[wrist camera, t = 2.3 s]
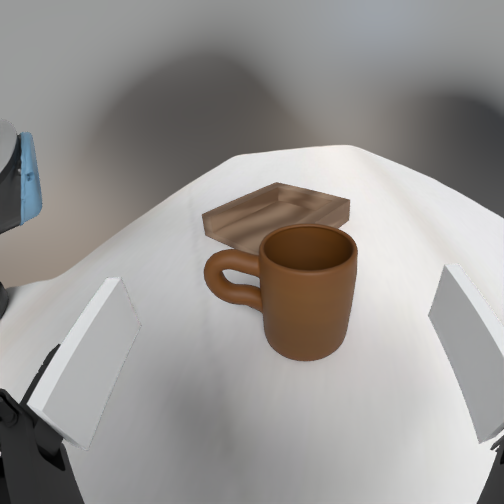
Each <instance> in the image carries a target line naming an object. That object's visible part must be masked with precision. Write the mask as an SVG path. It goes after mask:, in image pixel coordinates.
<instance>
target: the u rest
mask: <svg viewBox="0 0 504 504" xmlns="http://www.w3.org/2000/svg"><path fill="white" fill-rule="evenodd" d="M349 211H350V200H349V199H345V198H341V197H337V196H333V195H329V194H325V193H321V192H317V191H313V190H309V189H304V188H300V187H296V186H291V185H287V184H282V183H277V182H276V183H273V184H271V185H269V186H266V187H264V188H261V189H259V190H257V191H254V192H252V193H250V194H247V195H245V196H242V197H240V198H238V199H236V200H233V201H231V202H229V203H226V204H224V205H222V206H220V207H217V208H215V209H213V210H211V211H208V212H206V213H204V214H202V218H203V224H204V230H205V235H206V236H208V237H210V238H213V239H215V240H217V241H219V242H222V243H224V244H226V245H228V246H230V247H233V248H235V249H237V250H240V251H244V252H248V253H251V254H254V255H259V246H260V244H261V241H262V240H263V238H264V237H265V236H266V235H267V234H269V233H270V232H272V231H274V230H276V229H278V228H281V227H284V226H288V225H293V224H302V223H313V224H322V225H327V226H331V227H334V228H337V229H338V228H339V227H341V226H342V225H343V224H345V223H346V222H347V221H349Z"/></svg>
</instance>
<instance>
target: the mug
mask: <svg viewBox="0 0 504 504" xmlns="http://www.w3.org/2000/svg"><path fill="white" fill-rule="evenodd" d="M357 255H358V250H357V246H356V243H355V241H354V240H353V239H352V238H351V237H350V236H349V235H348V234H347V233H345V232H343V231H342V230H339V229H337V228H334V227H331V226H327V225H322V224H313V223H302V224H293V225H288V226H284V227H281V228H278V229H276V230H274V231H272V232H270V233H269V234H267V235H266V236H265V237H264V238H263V240H262V241H261V244H260V246H259V255H254V254H251V253H248V252H244V251H240V250H237V249H228V250H222V251H219V252H217V253H215V254H213V255H212V256H211V257H210V258H209V259H208V260H207V262H206V264H205V268H204V279H205V282H206V284H207V286H208V287H209V289H210V290H211V291H212V293H214V294H215V295H216V296H217V297H218V298H220V299H221V300H223V301H226V302H228V303H232V304H239V305H247V306H249V307H251V308H254V309H256V310H258V311H260V312H262V314H263V321H264V330H265V335H266V338H267V340H268V342H269V344H270V345H271V347H272V348H273V349H274V350H275V351H277V352H278V353H279V354H281V355H282V356H284V357H287V358H289V359H292V360H297V361H314V360H318V359H322V358H324V357H326V356H328V355H330V354H332V353H333V352H334V351H336V350H337V349H338V348H339V346H340V345H341V344H342V342H343V340H344V338H345V335H346V332H347V327H348V322H349V316H350V312H351V306H352V300H353V294H354V288H355V281H356V274H357ZM226 269H232V270H236V271H239V272H243V273H246V274H250V275H254V276H256V277H259V278H260V288H258V287H256V286H252V285H246V284H234V283H231V282H229V281H228V280H227V279H226V278H225V276H224V274H223V272H222V271H223V270H226Z"/></svg>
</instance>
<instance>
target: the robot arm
mask: <svg viewBox="0 0 504 504" xmlns="http://www.w3.org/2000/svg"><path fill="white" fill-rule="evenodd" d="M41 209H42V195H41V187H40V180H39V173H38V167H37V160H36V154H35V148H34V142H33V138H32V135H31V133H29V132H25V133H24V132H22V133H20V134H19V135H17V133H16V130H15V128H14V126H13V124H12V123H11V122H9V121H7V120H4V119H0V234H2V233H4V232H6V231H8V230H10V229H13V228H15V227H17V226H19V225H20V226H21V225H23V224H24V222H26V221H28V220H29V219H32V218H34V217H35V216H37V215H38V214H39V213H40V211H41ZM7 303H8V294H7V292H6V290H5V289H4V287H3V285H2V283H1V282H0V318H1V316H2V314H3V313H4V311H5V309H6V306H7ZM428 317H429V319H430V321H431V323H432V325H433V327H434V329H435V331H436V333H437V335H438V337H439V339H440V341H441V344H442V346H443V348H444V350H445V352H446V355H447V357H448V359H449V361H450V364H451V366H452V369H453V371H454V373H455V376H456V378H457V381H458V383H459V386H460V388H461V391H462V394H463V396H464V399H465V402H466V404H467V407H468V410H469V413H470V416H471V419H472V422H473V425H474V428H475V431H476V435H477V438H478V441H479V444H480V443H483V442H485V441H487V440H489V439H492V438H494V437H495V436H497V435H498V434H499V433H500V432H501V431H502V430H503V429H504V326H503V325H502V323H501V322H500V320H499V319H498V317H497V316H496V314H495V312H494V311H493V310H492V308H491V307H490V305H489V304H488V302H487V301H486V299H485V298H484V296H483V295H482V294H481V292H480V291H479V290H478V288H477V287H476V285H475V284H474V283H473V281H472V280H471V279H470V277H469V276H468V275H467V274H466V272H465V271H464V270H463V268H462V267H461V266H460V265H459V263H457V264H444V268H443V271H442V275H441V278H440V281H439V285H438V288H437V291H436V294H435V297H434V300H433V303H432V306H431V309H430V312H429V314H428ZM140 327H141V324H140V321H139V319H138V317H137V314H136V312H135V310H134V307H133V305H132V303H131V300H130V298H129V295H128V293H127V290H126V288H125V285H124V283H123V280H122V277H107V278H106V280H105V281H104V282H103V284H102V285H101V286H100V288H99V289H98V291H97V292H96V293H95V295H94V296H93V298H92V299H91V300H90V302H89V303H88V305H87V306H86V308H85V309H84V310H83V312H82V313H81V315H80V316H79V318H78V319H77V321H76V322H75V324H74V325H73V327H72V328H71V330H70V331H69V333H68V334H67V336H66V338H65V339H64V341H63V342H62V344H58V345H57V346H56V347H55V348H54V349H53V350H52V351H51V352H49V354H48V356H47V357H46V359H45V360H44V362H43V365H41V367H40V369H39V370H38V373H37V374H36V376H35V377H34V379H33V381H32V382H31V384H30V386H29V388H28V390H27V391H26V393H25V395H24V397H23V399H22V400H21V402H20V404H18V403H17V402H16V401H15V400H14V399H13V398H12V397H11V396H10V394H9V393H8V392H7V391H6V390H4V389H0V452H1V456H0V504H85V503H84V501H83V499H82V496H81V494H80V491H79V488H78V486H77V483H76V480H75V477H74V474H73V471H72V468H71V465H70V462H69V459H68V455H67V452H66V449H65V447H64V445H63V443H61V442H62V440H63V438H64V439H65V440H67V441H68V442H69V443H70V444H71V445H73V446H76V447H78V448H81V449H84V450H86V451H88V450H89V447H90V444H91V442H92V439H93V436H94V434H95V431H96V428H97V426H98V423H99V421H100V418H101V416H102V413H103V411H104V408H105V406H106V404H107V401H108V399H109V396H110V394H111V392H112V389H113V387H114V385H115V382H116V380H117V378H118V375H119V373H120V371H121V369H122V366H123V364H124V362H125V360H126V357H127V355H128V353H129V351H130V349H131V347H132V344H133V342H134V340H135V338H136V336H137V334H138V332H139V330H140ZM498 445H500V446H499V448H497V450H496V451H495V452H497V455H496V458H495V461H494V463H493V466H492V469H491V471H490V474H489V477H488V479H487V481H486V484H485V486H484V489H483V491H482V493H481V495H480V497H479V500H478V502H477V504H504V435H503V436H502V437H501V438H500V439H499V440H498V441H496V442H495V443H494V444H493V445H492V447H491V449H490V450H493V449H495V448H496V447H497V446H498Z"/></svg>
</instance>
